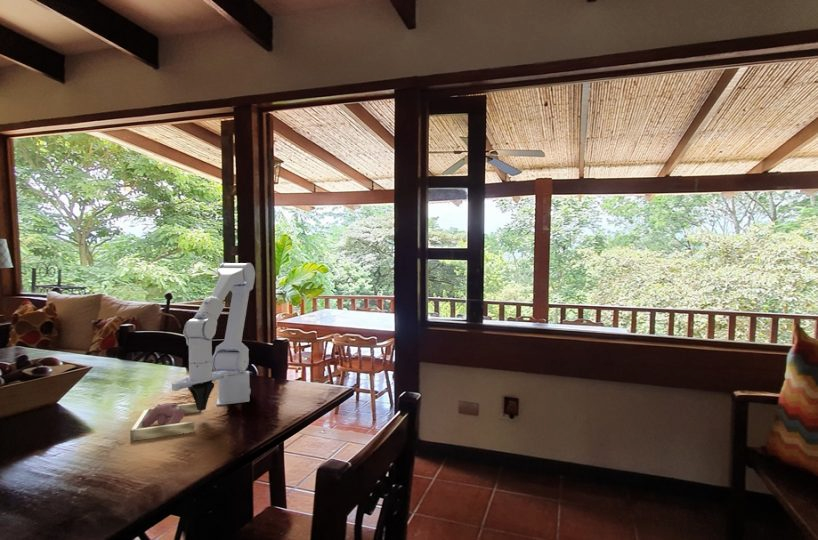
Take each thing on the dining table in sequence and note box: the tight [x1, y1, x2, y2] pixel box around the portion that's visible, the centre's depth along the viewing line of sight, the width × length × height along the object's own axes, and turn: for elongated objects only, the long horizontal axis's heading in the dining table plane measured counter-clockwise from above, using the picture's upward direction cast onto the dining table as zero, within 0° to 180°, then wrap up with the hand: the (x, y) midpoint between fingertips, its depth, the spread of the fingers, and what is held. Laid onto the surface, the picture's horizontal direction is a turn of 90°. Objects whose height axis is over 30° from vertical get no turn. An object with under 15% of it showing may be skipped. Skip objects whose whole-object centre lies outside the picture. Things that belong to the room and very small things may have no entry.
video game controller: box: [143, 402, 186, 428], centre depth 109 cm, size 10×5×7 cm, turn 70°
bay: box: [129, 402, 201, 442], centre depth 110 cm, size 14×16×2 cm
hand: (201, 409), depth 113 cm, fingers closed
